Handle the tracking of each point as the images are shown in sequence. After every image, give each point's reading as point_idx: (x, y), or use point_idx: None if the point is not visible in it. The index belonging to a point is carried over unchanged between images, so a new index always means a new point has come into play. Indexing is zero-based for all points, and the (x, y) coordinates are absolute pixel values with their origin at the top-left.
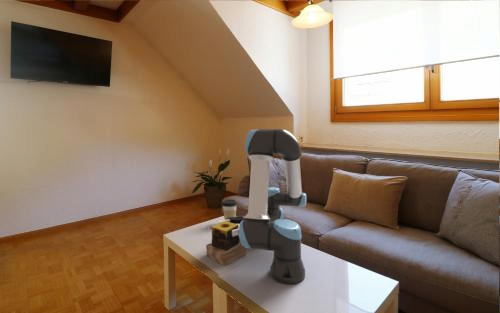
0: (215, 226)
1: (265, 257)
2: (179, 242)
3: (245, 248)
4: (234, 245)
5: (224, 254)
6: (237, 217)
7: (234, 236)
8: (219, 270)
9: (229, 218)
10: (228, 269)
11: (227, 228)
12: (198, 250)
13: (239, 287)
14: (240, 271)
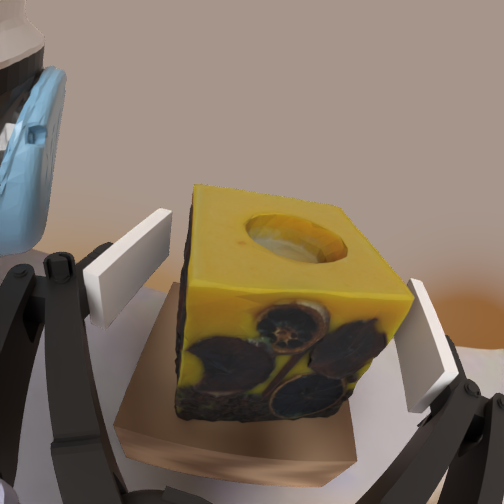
0: (328, 212)
1: None
2: (465, 353)
3: (119, 435)
4: (177, 366)
5: (171, 288)
6: (478, 497)
7: (181, 316)
8: (164, 299)
9: (489, 406)
10: (133, 315)
11: (222, 207)
12: (376, 361)
13: None
14: None
